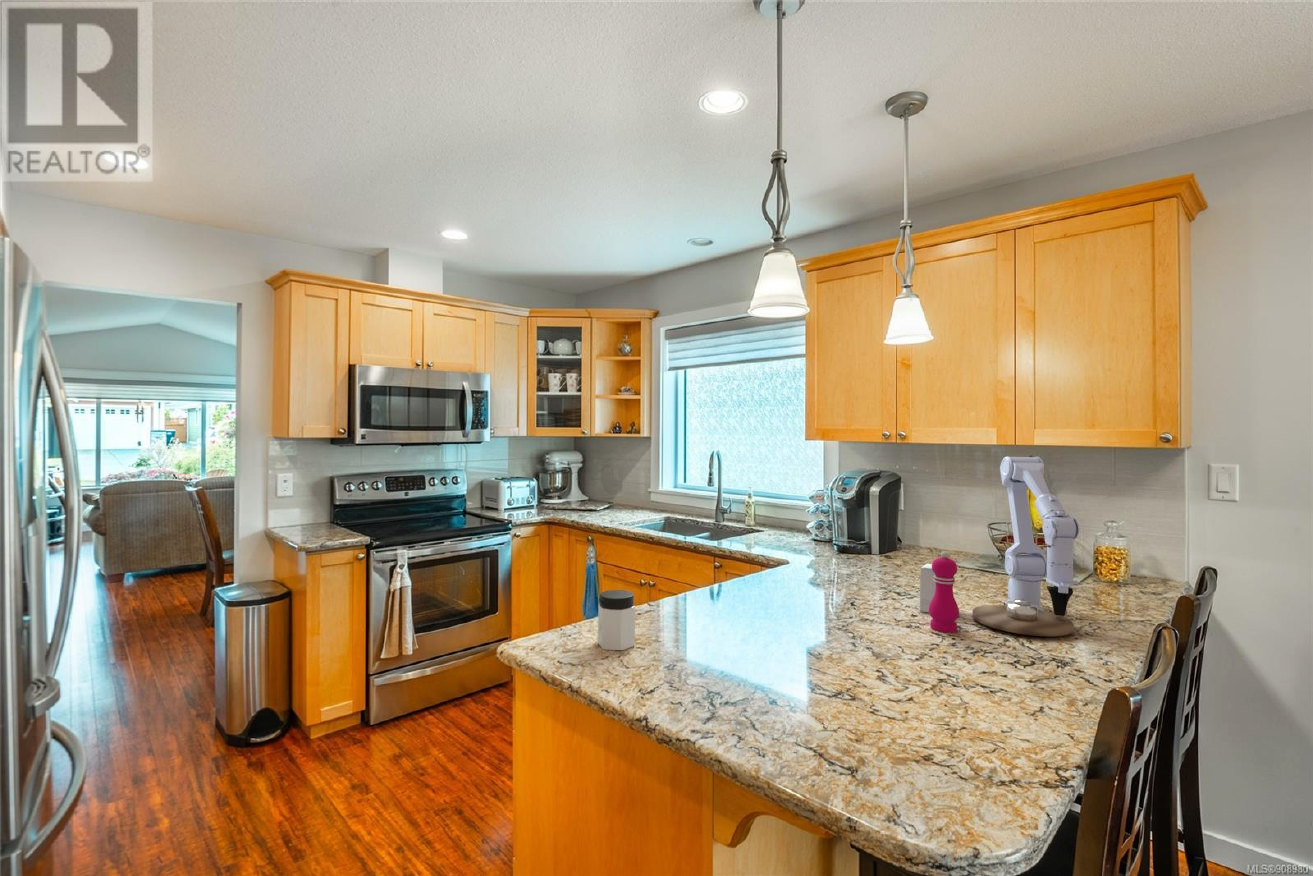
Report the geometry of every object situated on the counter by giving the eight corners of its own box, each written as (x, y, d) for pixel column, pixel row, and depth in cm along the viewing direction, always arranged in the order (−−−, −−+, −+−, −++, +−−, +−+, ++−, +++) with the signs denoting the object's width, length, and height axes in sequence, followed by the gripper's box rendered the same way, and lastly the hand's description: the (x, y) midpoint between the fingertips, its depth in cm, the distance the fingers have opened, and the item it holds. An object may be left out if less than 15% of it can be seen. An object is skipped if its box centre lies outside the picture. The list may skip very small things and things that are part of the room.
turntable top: (957, 619, 164) (957, 606, 164) (993, 604, 178) (994, 592, 178) (1054, 642, 146) (1055, 627, 146) (1086, 624, 160) (1087, 610, 160)
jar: (595, 640, 147) (595, 590, 147) (628, 637, 150) (628, 588, 150) (603, 653, 139) (603, 600, 139) (638, 649, 141) (638, 597, 141)
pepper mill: (952, 625, 162) (953, 549, 162) (963, 634, 154) (964, 554, 154) (924, 624, 162) (925, 548, 162) (933, 632, 155) (935, 553, 155)
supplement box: (947, 616, 169) (947, 570, 169) (918, 611, 174) (919, 567, 174) (953, 610, 175) (953, 566, 175) (925, 605, 180) (926, 562, 180)
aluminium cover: (1002, 617, 162) (1003, 600, 162) (1012, 612, 167) (1012, 595, 167) (1032, 623, 157) (1032, 606, 157) (1041, 618, 162) (1041, 601, 161)
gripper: (1083, 569, 152) (1082, 624, 152) (1074, 559, 165) (1073, 610, 164) (1049, 566, 155) (1048, 620, 155) (1043, 557, 168) (1042, 606, 168)
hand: (1059, 615), depth 160 cm, fingers closed, pressing on turntable top
